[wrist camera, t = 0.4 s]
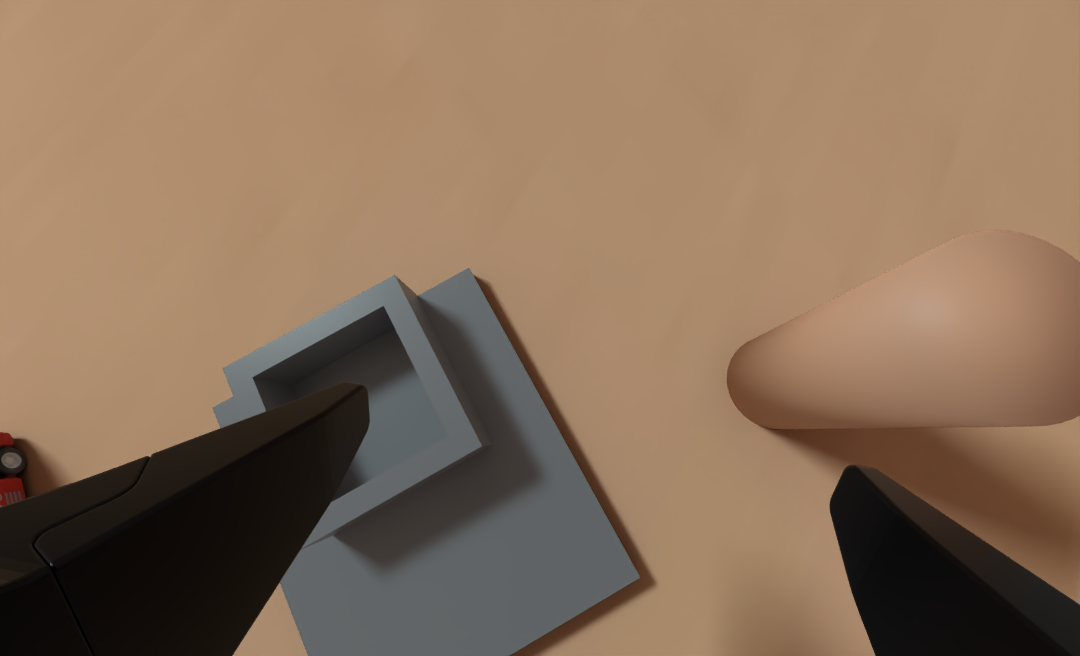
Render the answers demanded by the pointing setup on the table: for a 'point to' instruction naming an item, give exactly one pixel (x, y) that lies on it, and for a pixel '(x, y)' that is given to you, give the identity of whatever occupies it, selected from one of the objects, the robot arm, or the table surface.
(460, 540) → the jig cradle
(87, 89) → the table surface
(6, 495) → the toy fire truck
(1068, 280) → the peg
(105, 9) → the table surface
